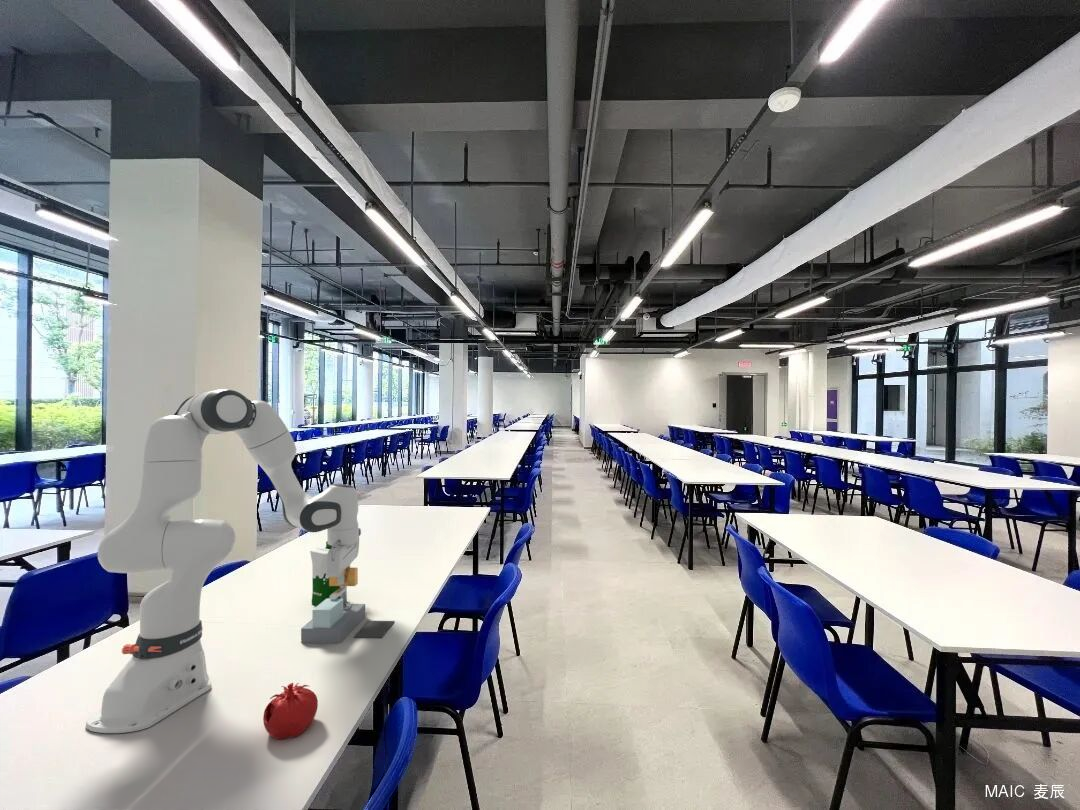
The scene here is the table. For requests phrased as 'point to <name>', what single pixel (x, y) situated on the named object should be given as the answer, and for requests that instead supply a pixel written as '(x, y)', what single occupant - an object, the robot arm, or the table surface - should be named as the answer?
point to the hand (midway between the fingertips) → (343, 581)
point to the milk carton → (321, 575)
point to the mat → (374, 629)
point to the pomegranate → (290, 712)
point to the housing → (334, 626)
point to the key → (350, 580)
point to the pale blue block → (327, 613)
